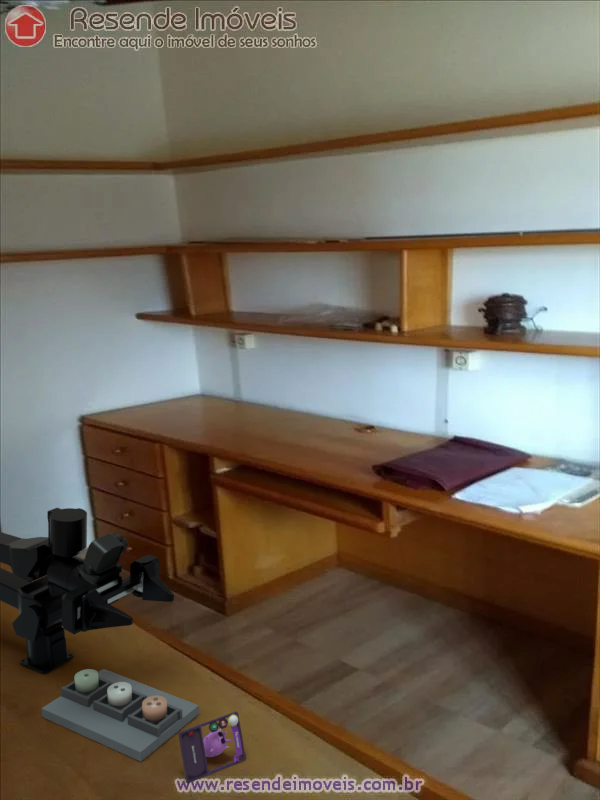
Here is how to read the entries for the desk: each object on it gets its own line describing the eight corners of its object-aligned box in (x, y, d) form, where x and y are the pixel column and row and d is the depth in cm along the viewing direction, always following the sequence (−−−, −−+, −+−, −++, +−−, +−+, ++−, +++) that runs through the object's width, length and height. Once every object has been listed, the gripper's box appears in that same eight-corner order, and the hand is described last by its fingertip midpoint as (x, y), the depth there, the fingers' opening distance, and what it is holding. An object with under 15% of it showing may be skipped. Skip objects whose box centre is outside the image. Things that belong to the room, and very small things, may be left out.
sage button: (70, 688, 123) (69, 677, 123) (87, 677, 126) (86, 666, 126) (86, 694, 121) (85, 683, 121) (103, 683, 124) (103, 672, 124)
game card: (181, 733, 106) (240, 712, 111) (166, 726, 110) (224, 706, 115) (189, 785, 105) (248, 761, 110) (174, 775, 110) (232, 753, 115)
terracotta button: (137, 715, 116) (136, 704, 116) (153, 703, 119) (153, 692, 119) (156, 723, 114) (155, 712, 114) (172, 710, 117) (171, 699, 117)
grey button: (102, 701, 120) (102, 690, 119) (119, 689, 123) (119, 679, 122) (120, 708, 118) (119, 697, 118) (137, 696, 121) (136, 685, 121)
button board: (42, 717, 121) (40, 700, 120) (104, 676, 131) (103, 661, 131) (140, 761, 110) (139, 743, 110) (199, 714, 121) (198, 697, 121)
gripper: (34, 549, 118) (110, 583, 110) (123, 514, 133) (195, 541, 125) (33, 617, 120) (107, 654, 113) (121, 574, 136) (192, 604, 128)
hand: (153, 609), depth 120 cm, fingers open, 9 cm apart
